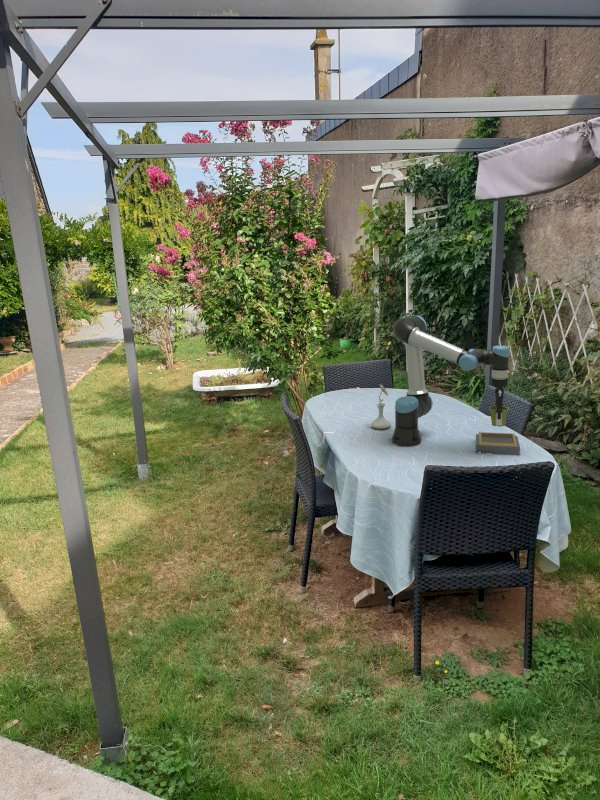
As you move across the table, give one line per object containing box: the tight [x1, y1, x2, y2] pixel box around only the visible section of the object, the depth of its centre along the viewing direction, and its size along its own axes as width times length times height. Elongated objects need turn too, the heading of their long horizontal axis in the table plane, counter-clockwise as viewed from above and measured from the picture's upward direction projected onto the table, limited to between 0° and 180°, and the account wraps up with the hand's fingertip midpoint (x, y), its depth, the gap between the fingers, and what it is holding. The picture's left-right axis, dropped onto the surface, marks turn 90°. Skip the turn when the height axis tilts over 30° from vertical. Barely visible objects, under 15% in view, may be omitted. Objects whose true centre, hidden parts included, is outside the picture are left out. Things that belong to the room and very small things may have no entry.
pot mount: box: [475, 431, 521, 456], centre depth 284 cm, size 20×18×5 cm
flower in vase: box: [370, 384, 392, 430], centre depth 324 cm, size 13×11×25 cm
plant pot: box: [488, 405, 510, 428], centre depth 281 cm, size 9×9×9 cm
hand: (498, 422), depth 281 cm, fingers closed on plant pot, 9 cm apart
